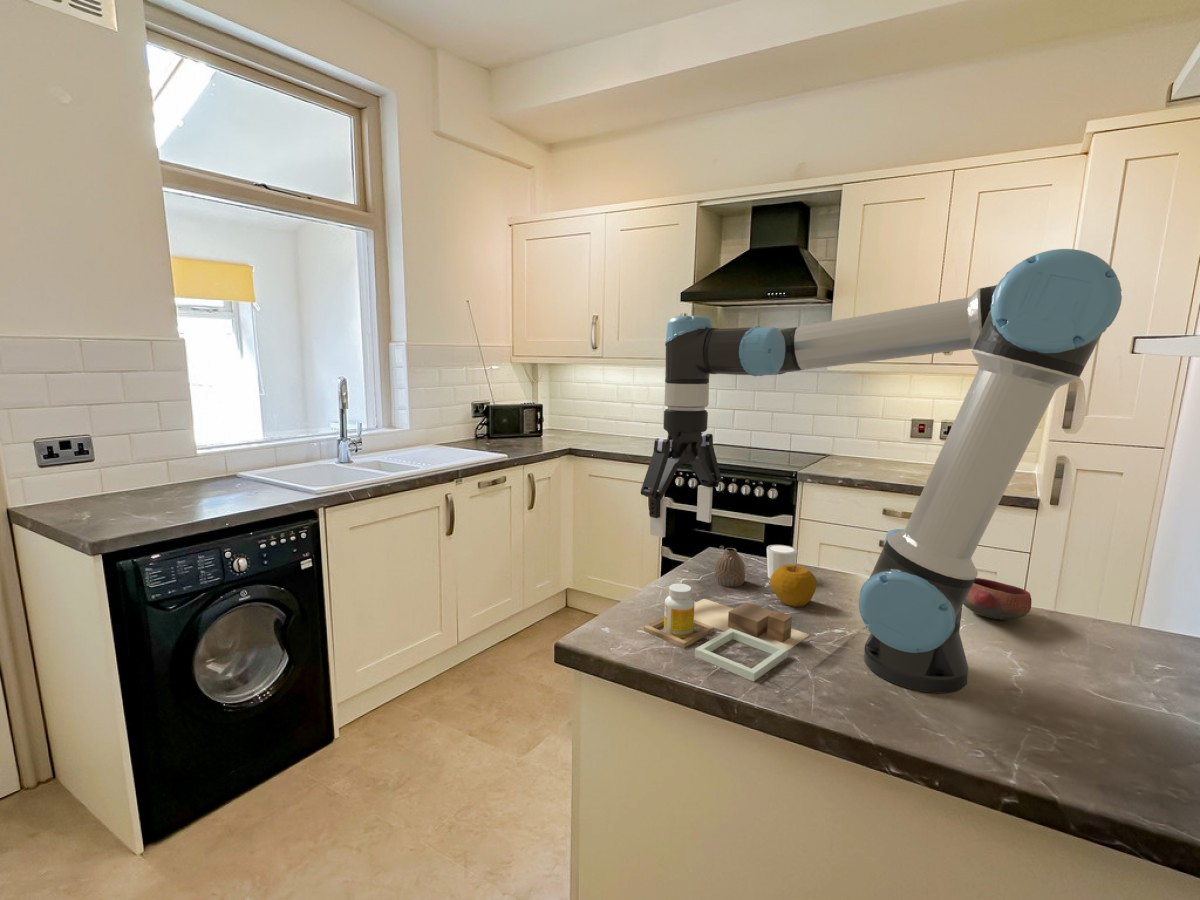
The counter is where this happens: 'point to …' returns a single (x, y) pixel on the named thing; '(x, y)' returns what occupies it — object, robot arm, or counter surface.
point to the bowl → (997, 600)
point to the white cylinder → (779, 557)
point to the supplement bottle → (679, 611)
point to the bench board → (775, 634)
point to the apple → (793, 585)
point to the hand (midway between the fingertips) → (681, 528)
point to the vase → (730, 569)
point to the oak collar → (677, 641)
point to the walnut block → (749, 619)
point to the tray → (741, 670)
